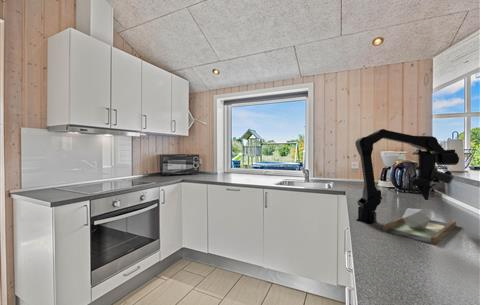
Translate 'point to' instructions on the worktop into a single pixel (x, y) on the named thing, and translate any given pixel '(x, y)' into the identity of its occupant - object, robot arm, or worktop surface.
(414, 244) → the worktop surface
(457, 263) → the worktop surface
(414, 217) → the die
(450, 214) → the worktop surface
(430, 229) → the box
